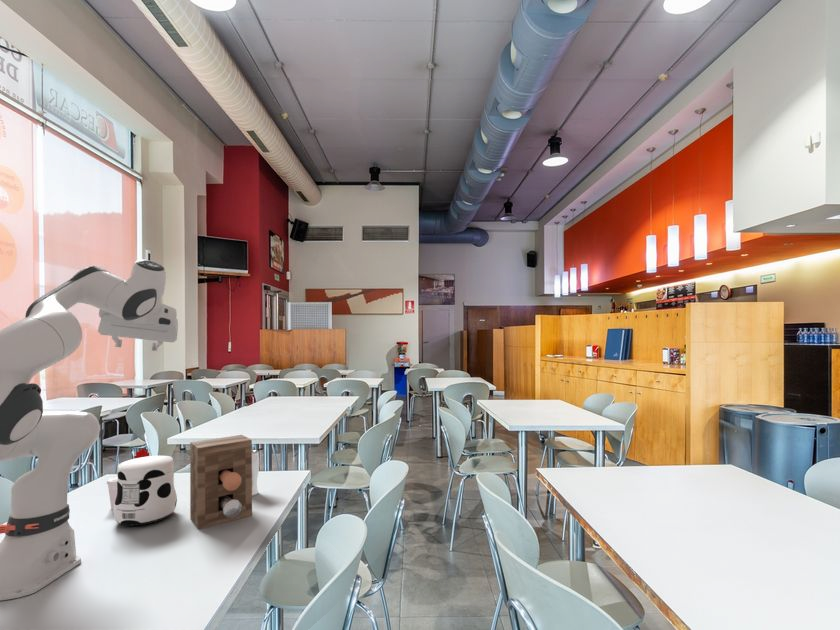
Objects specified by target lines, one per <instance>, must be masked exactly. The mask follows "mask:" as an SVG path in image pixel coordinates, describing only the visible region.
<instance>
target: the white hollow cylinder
mask: <svg viewBox="0 0 840 630" xmlns="http://www.w3.org/2000/svg"><path fill="white" fill-rule="evenodd" d="M259 469H260V457H259V450H255V449H252V497H254V496H256V495H258V494H259V490H258V477H259V471H260V470H259Z"/></svg>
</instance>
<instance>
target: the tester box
mask: <svg viewBox="0 0 840 630" xmlns="http://www.w3.org/2000/svg"><path fill="white" fill-rule="evenodd" d="M189 443H190V445H189V448H190V452H189V453H190V454H189V455H190V456H189V457H190V459H189V460H190V465H189V466H190V467H189V473H190V474H189V475H190V478H189V479H190V481H189V482H190V483H189V484H190V486H189V487H190V489H189V490H190V496H189V497H190V498H189V501H190V504H189V505H190V508H189V510H190V511H189V512H190V515H189V517H190V518H189V519H190V521H191V522H192V523H193V525H194V526H195V527H196V529H197V530H200V529H204V528H208V527H209V528H210V527H212V526H216V525H220V524H224V523H228V522H231V521H232V522H233V521H236V520H239V519H243V518H247V517H248V518H249V517H251V516H253V496H252V450H253V445H252V444H253V441H252V439H251V438H249V437H247V436H245V435H244V434H238V435H231V436H224V437H219V438H217V437H216V438H211V439H205V440H197V441H192V442H189ZM224 469H227V470H229V471H230V472H236V473H238V474H239V475H240V476H241V479H242V481H241V484H240V486H239V487H238V488H237V489H236V490H233V491H228V490H226V489H225V488H224V487H223V482H222V481H221V480H219V477H218V475H219V473H220V472H221V471H222V470H224ZM225 495H228V496H229V497H230V498H231V499H237V500H238V501H239V502H240V503H241V505H242V508H241V511H240V513H239V514H238V515H237V516H236V517H234V518H228V517H226V516H225V515H224V514H223V509H222V508H221V507H220V506H219V503H218V502H219V499H220V498H221V497H222V496H225Z"/></svg>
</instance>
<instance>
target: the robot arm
mask: <svg viewBox="0 0 840 630" xmlns="http://www.w3.org/2000/svg"><path fill="white" fill-rule="evenodd" d="M166 274H167V273H166V269H165V267H164V266H163V265H161V264H159V263H157V262H156V261H155V262H154V261H153V260H147V259H139V260H138V259H137V260H135V262H134V264H133V266H132V269H131V273H130V276H129V277H128V278H127V279H124V278H122V277H121V276H118V275H116V274H114V273H112V272H111V271H108V270H106V269H104V268H103V267H101V266H98V265H93V266H87V267H84V268H82V269H80V270H79V271H78V272H76V274H74V275H73V276H72V277H71V278H70V279H68V280H67V281H65V282H63V283H62V284H60V285H58V286H57V287H55V288H53V289H52V290H49V291H47V293H45V294H43V295H41V296H39V298H37V299H35V300H34V301H33V302H31V304H30V305H29V306H28V308H27V309H26V311H25V317H24V318H22V319H19V320H18V321H16V322H13V323H11V324H10V325H7V326H6V327H4V328H3V329H1V330H0V463H2V462H3V463H4V462H7V461H8V462H9V461H14V460H17V459H20V458H33V457H37V464H36V466H35V468H33V469H31V470H29V471H27V472H25V473H24V474H22V475H21V476H19V477H18V478H17V479H16V480H15V481H14V482H13V484H12V487H11V488H10V489H11V492H10V493H11V495H10V500H11V501H10V502H11V503H10V515H9V516H8V520H7V523H6V524H4V523H3V524H0V534H1V535H2V534H4V537H3V539H2V540H1V542H0V602H1V601H7V600H12V599H17V598H22V597H26V596H29V595H33V594H34V593H37V592H39V591H40V590H41V589H43V588H44V587H46V586H48V585H49V584H51V583H52V582H53V581H55V580H56V579H58V578H60V577H61V576H63V575H65V574H66V573H67V572H69V571H70V570H72V569H74V568H75V567H76V566H78V565H80V564H81V563H82V557H80V556H77V548H76V538H75V537H76V535H75V531H74V529H73V528H72V526H71V525H70V523H69V521H68V520H69V519H70V513H71V511H70V510H71V509H70V505H69V503H68V491H69V480H70V478H69V477H70V476H71V475H70V473H71V471H72V469H73V467H74V465H75V463H76V462H77V460H79V458H80V457H81V455H83V454H84V453H85V452H86V451H88V450H90V449H91V448H92V447H93V446H94V445H95V443H96V442H97V440H98V439H99V435H100V432H101V426H100V423H99V420H98V418H97V417H96V416H95V415H94V413H92V412H86V411H79V410H57V411H55V410H53V411H44V404H43V403H44V400H43V399H42V397H41V392H42V388H41V387H40V386H39V384H38V383H37V384H36V383H35V382H34V383H33V382H32V383H30V382H31V380H32V379H33V377H34V376H36V375H37V374H38V373H40V372H41V371H44V370H45V369H47V368H50V367H51V366H53V365H54V364H57V363H59V362H61V361H62V360H65V359H66V358H67V357H69V356H71V355H72V354H74V352H75V351H76V350H77V349H78V348H79V347H80V345H81V342H82V338H83V330H82V327H81V324H80V321H79V320H78V319H77V317H76V316H75V315H74V314H73V313H72V311H70V308H72V307H74V306H75V305H77V304H78V303H79V304H85V305H90V306H91V307H94V308H97V309H99V310H98V317H99V318H100V322H99V325H98V328H97V333H99V334H100V335H102V336H109V337H111V339H112V341H114V344H115V345H114V347H115V348H122V345H123V344H122V343H123V339H120V338H129V339H137V340H146V341H156V342H152V346H151V351H154V352H158V348H159V347H160V346H162V345H163V343H175V342H176V341H177V340H178V331H179V321H178V319H177V309H176V308H175V307H173V306H172V307H171V306H170V305H167V304H165V303H163V302H162V298H163V296H164V294H165V287H166V278H167V275H166Z"/></svg>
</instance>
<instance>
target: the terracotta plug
mask: <svg viewBox="0 0 840 630" xmlns="http://www.w3.org/2000/svg"><path fill="white" fill-rule="evenodd" d="M218 477H219V480H221V481H222V482H223V487H224V488H225V489H226V490H228V491H233V490H236V489H237V488H238V487H239V486H240V484H241V481H242V479H241V476H240V475H239V474H238V473H236V472H230V471H229V470H227V469H224V470H222V471H221V472H220V473H219V475H218Z"/></svg>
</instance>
